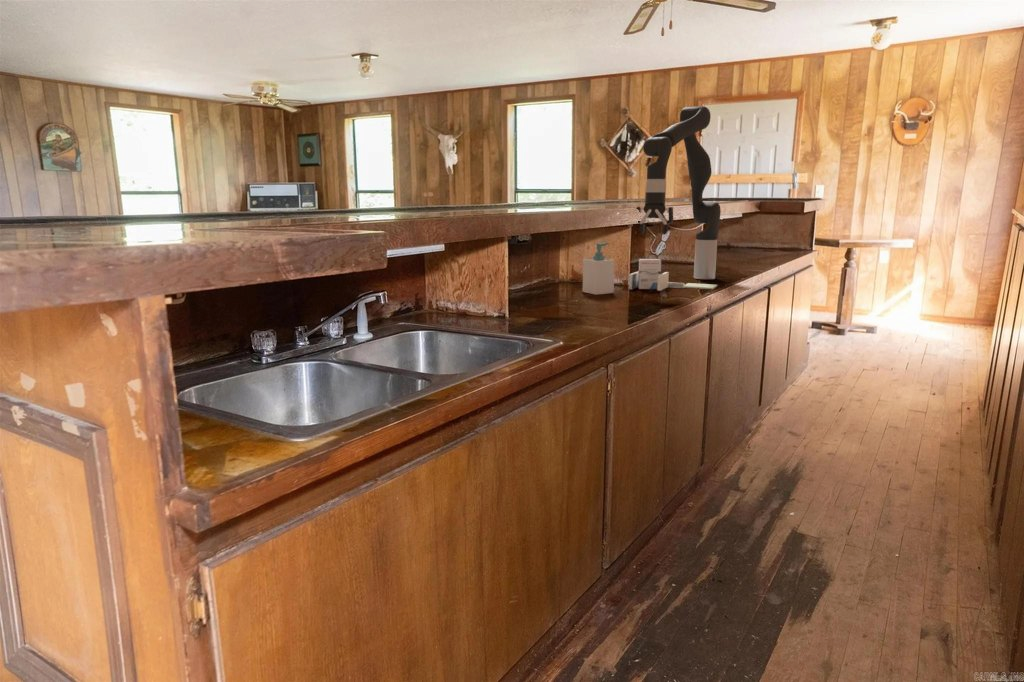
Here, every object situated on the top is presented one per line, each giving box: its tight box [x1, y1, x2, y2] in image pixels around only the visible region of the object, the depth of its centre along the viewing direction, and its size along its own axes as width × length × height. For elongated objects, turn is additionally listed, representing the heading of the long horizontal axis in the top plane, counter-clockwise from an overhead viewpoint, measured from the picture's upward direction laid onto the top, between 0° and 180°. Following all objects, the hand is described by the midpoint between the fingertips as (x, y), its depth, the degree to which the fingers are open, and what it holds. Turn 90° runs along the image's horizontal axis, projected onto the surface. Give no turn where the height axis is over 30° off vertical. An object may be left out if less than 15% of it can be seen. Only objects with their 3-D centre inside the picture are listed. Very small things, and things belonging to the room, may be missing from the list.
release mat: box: [683, 282, 718, 290], centre depth 279 cm, size 10×12×1 cm
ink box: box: [637, 258, 662, 290], centre depth 274 cm, size 8×5×12 cm, turn 84°
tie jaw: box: [656, 271, 670, 292], centre depth 272 cm, size 12×1×6 cm, turn 153°
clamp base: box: [628, 270, 685, 290], centre depth 274 cm, size 14×19×6 cm
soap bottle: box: [582, 242, 615, 296], centre depth 263 cm, size 9×9×19 cm
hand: (653, 234), depth 265 cm, fingers open, 8 cm apart
